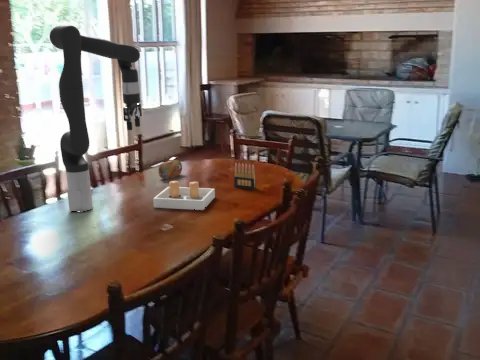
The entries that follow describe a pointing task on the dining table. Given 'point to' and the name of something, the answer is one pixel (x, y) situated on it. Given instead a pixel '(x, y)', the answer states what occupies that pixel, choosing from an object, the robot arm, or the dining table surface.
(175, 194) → the tan rounded sausage
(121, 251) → the dining table surface
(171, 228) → the dining table surface
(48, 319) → the dining table surface
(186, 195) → the housing
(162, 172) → the tin
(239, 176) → the ammunition clip
